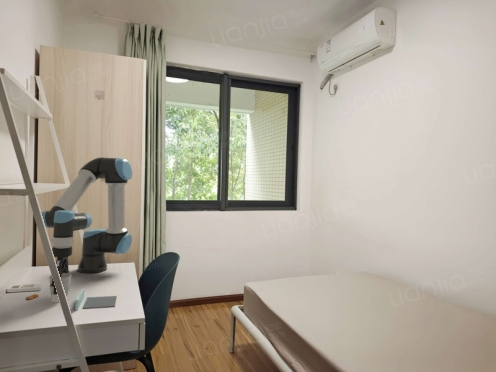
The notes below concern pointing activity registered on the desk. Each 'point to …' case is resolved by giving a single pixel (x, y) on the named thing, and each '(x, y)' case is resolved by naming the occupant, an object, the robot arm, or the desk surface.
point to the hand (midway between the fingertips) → (59, 296)
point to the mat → (100, 302)
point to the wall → (79, 299)
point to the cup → (63, 282)
